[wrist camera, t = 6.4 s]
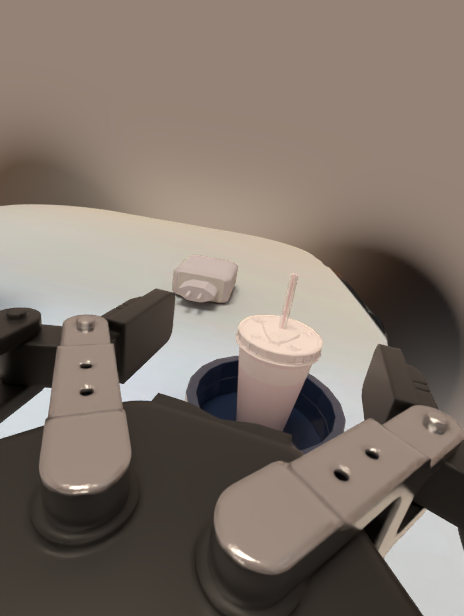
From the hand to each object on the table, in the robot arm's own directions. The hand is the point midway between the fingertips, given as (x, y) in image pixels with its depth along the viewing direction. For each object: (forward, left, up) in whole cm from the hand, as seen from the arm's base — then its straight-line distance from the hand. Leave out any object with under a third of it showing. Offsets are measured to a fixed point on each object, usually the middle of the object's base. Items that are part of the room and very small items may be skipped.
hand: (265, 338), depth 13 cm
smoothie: (-5, +10, -15) cm, 18 cm away
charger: (-30, +28, -15) cm, 44 cm away
